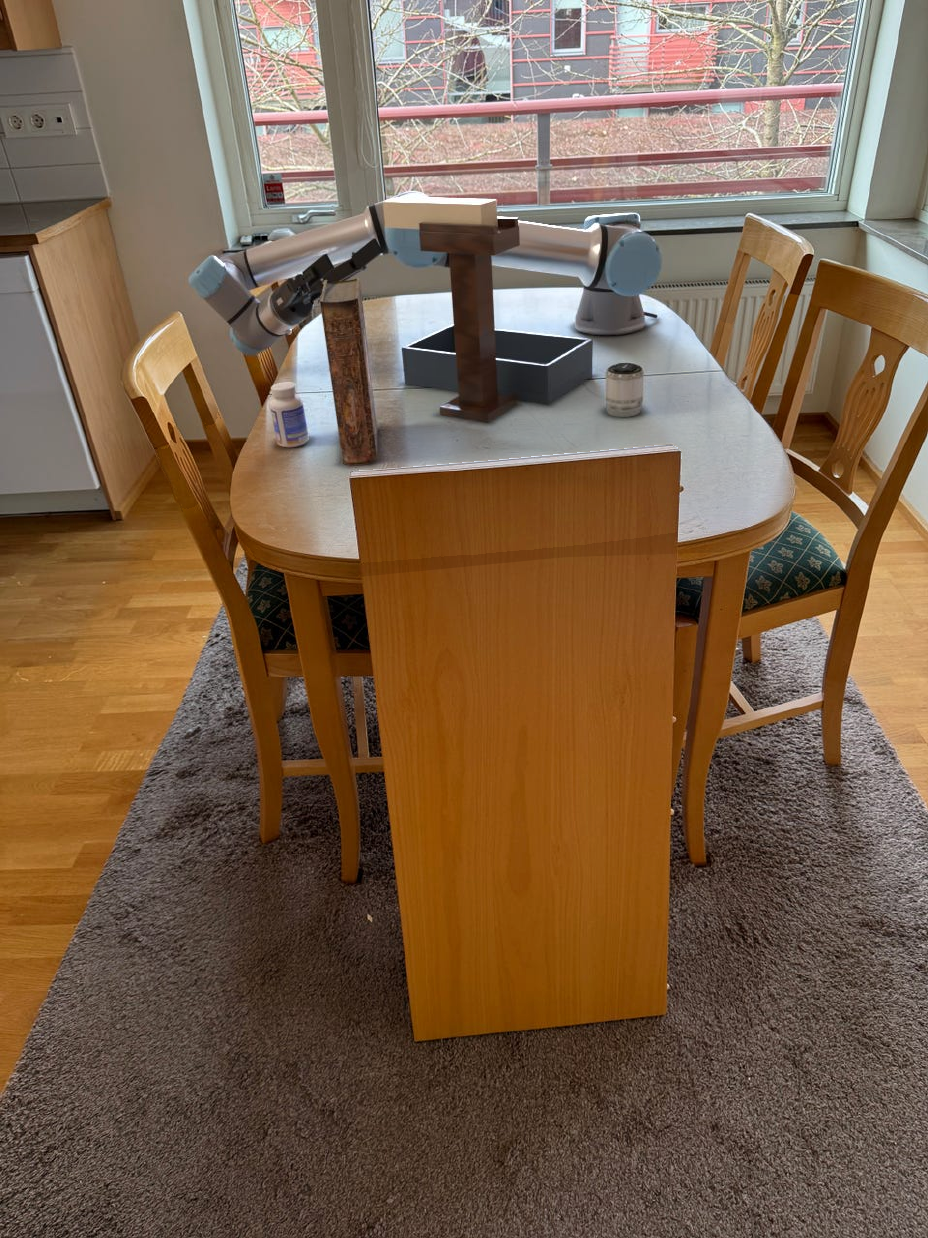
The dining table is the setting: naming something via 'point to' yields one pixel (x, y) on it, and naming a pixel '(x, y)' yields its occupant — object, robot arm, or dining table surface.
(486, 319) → the stand
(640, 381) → the camera lens
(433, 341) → the bin
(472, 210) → the carton
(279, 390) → the pill bottle
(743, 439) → the dining table surface
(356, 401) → the book
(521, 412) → the dining table surface
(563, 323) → the dining table surface
